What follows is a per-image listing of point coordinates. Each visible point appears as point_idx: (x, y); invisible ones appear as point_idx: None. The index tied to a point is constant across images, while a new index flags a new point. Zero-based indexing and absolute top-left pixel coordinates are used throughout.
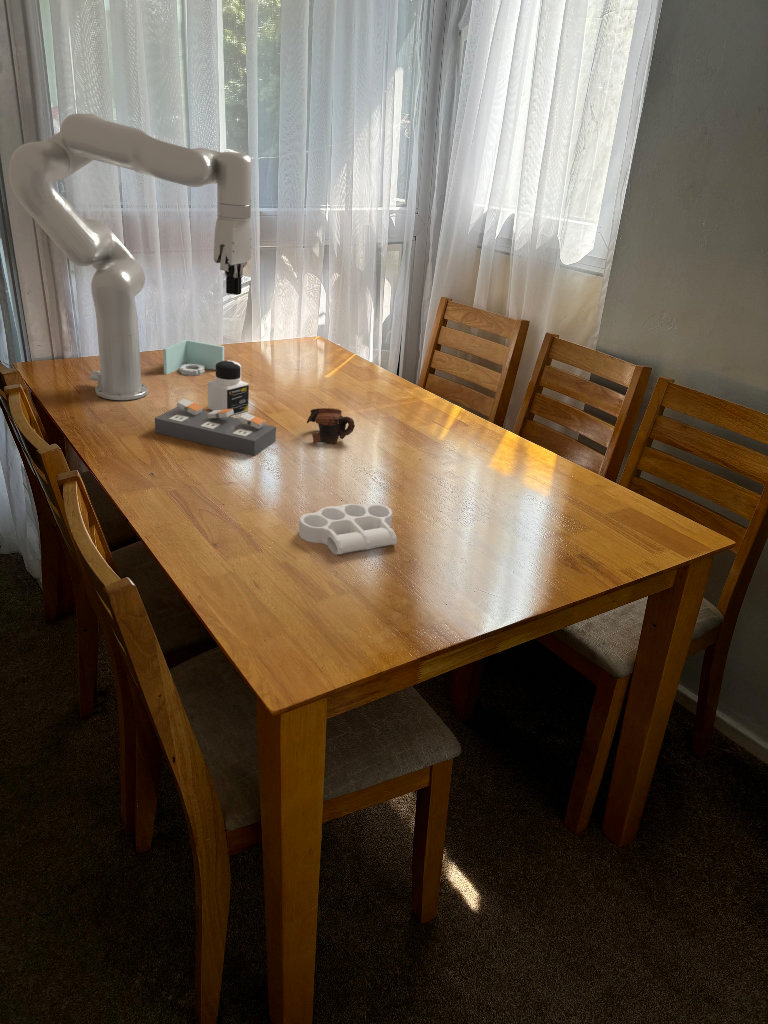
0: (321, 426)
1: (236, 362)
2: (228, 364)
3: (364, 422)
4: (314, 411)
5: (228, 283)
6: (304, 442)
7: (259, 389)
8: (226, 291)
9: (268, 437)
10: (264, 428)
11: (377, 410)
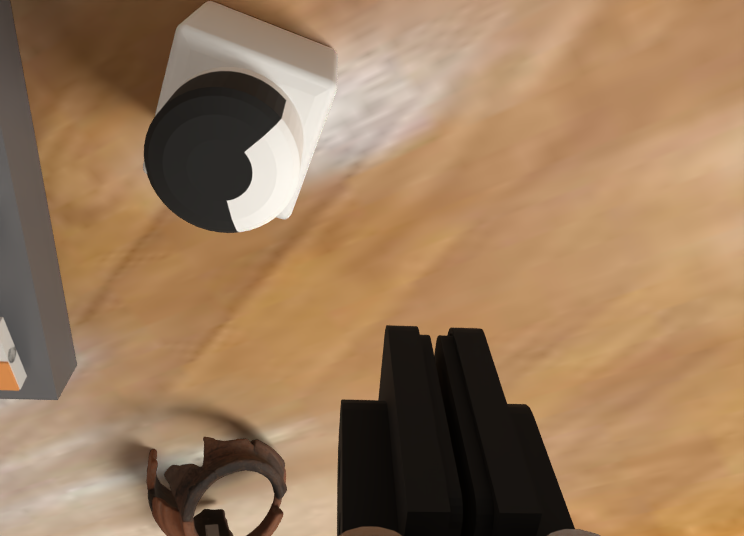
0: (150, 507)
1: (262, 202)
2: (188, 186)
3: None
4: (184, 499)
5: (340, 475)
6: (132, 431)
7: (592, 88)
8: (387, 334)
9: None
10: None
11: None
